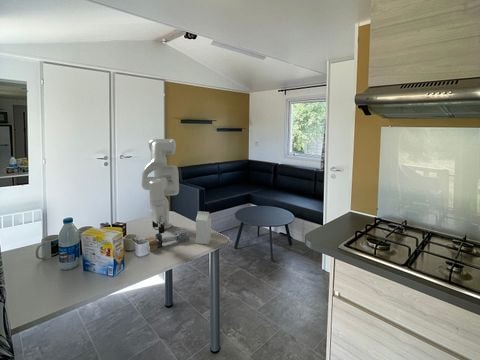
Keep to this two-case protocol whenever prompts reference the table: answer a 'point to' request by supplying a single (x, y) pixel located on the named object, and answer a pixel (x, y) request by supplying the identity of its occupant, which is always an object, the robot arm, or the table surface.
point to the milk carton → (203, 227)
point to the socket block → (152, 243)
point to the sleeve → (182, 235)
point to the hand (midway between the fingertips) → (158, 230)
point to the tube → (164, 239)
